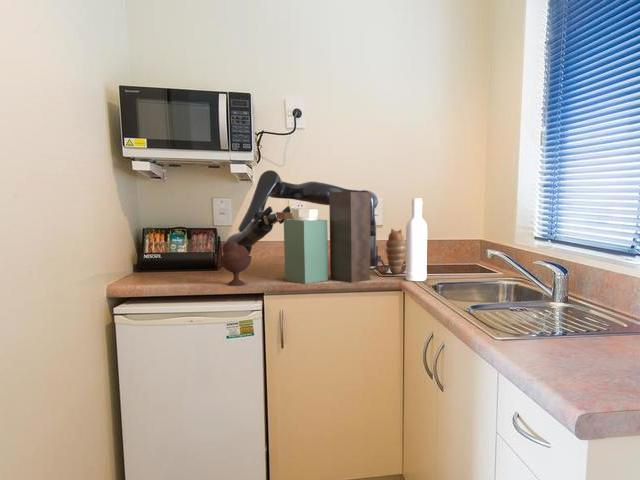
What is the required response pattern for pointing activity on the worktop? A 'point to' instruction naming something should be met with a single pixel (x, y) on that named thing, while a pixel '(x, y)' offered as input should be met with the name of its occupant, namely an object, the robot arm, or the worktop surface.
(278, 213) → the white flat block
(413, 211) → the bottle
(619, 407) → the worktop surface
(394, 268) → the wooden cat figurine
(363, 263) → the stand
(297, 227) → the box
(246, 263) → the ice cream bowl
